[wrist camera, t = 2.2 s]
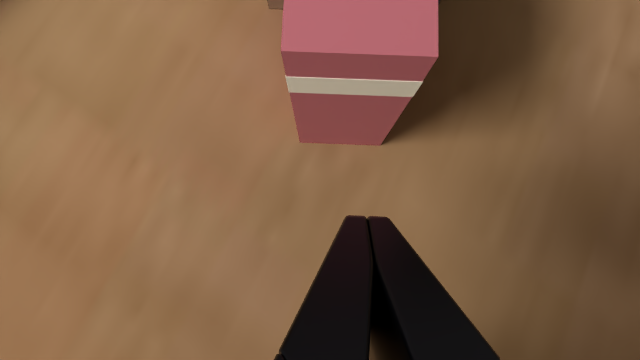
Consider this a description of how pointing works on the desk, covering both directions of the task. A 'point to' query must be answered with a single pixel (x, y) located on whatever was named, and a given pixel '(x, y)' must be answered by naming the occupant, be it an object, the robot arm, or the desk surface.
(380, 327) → the robot arm
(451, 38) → the desk surface
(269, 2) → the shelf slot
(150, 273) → the desk surface
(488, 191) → the desk surface
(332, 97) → the book
